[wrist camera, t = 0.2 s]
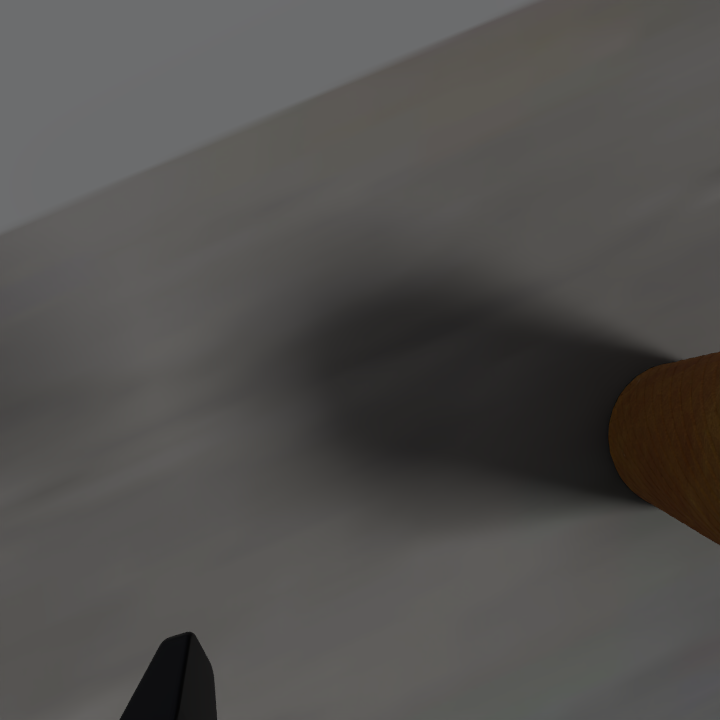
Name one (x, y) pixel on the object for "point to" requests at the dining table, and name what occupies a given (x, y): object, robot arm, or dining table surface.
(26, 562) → the dining table surface
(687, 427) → the disposable coffee cup
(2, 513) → the dining table surface
